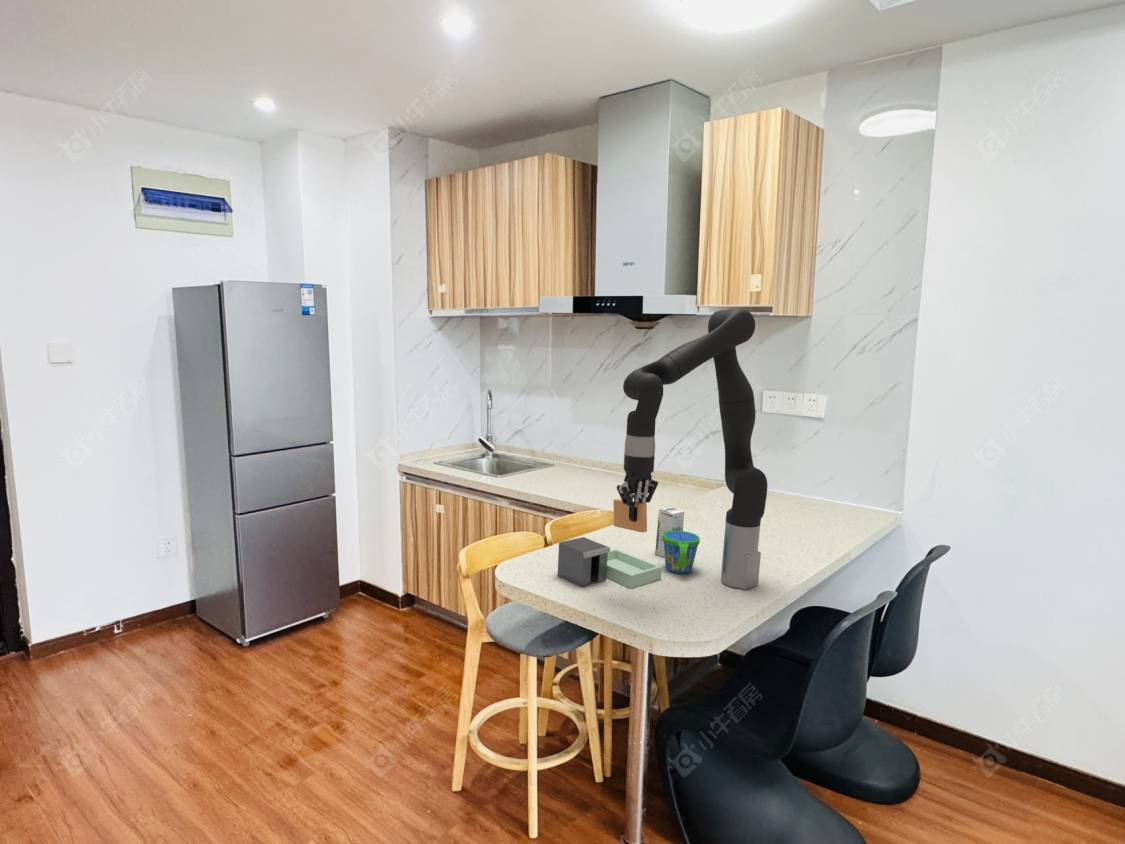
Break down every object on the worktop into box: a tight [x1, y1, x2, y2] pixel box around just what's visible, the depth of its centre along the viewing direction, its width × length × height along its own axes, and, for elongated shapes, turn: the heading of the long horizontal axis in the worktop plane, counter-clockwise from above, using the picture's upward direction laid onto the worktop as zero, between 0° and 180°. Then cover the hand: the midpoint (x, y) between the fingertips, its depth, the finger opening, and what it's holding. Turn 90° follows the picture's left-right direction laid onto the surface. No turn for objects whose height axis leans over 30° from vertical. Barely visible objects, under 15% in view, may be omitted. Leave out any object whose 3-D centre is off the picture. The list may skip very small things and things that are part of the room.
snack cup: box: [663, 530, 701, 574], centre depth 193 cm, size 16×10×10 cm
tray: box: [606, 548, 663, 589], centre depth 188 cm, size 18×12×4 cm, turn 40°
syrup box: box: [654, 506, 685, 558], centre depth 204 cm, size 6×6×14 cm
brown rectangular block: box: [613, 498, 648, 533], centre depth 170 cm, size 10×2×7 cm, turn 41°
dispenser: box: [557, 536, 611, 588], centre depth 183 cm, size 11×9×10 cm
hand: (635, 520), depth 168 cm, fingers closed on brown rectangular block, 1 cm apart
